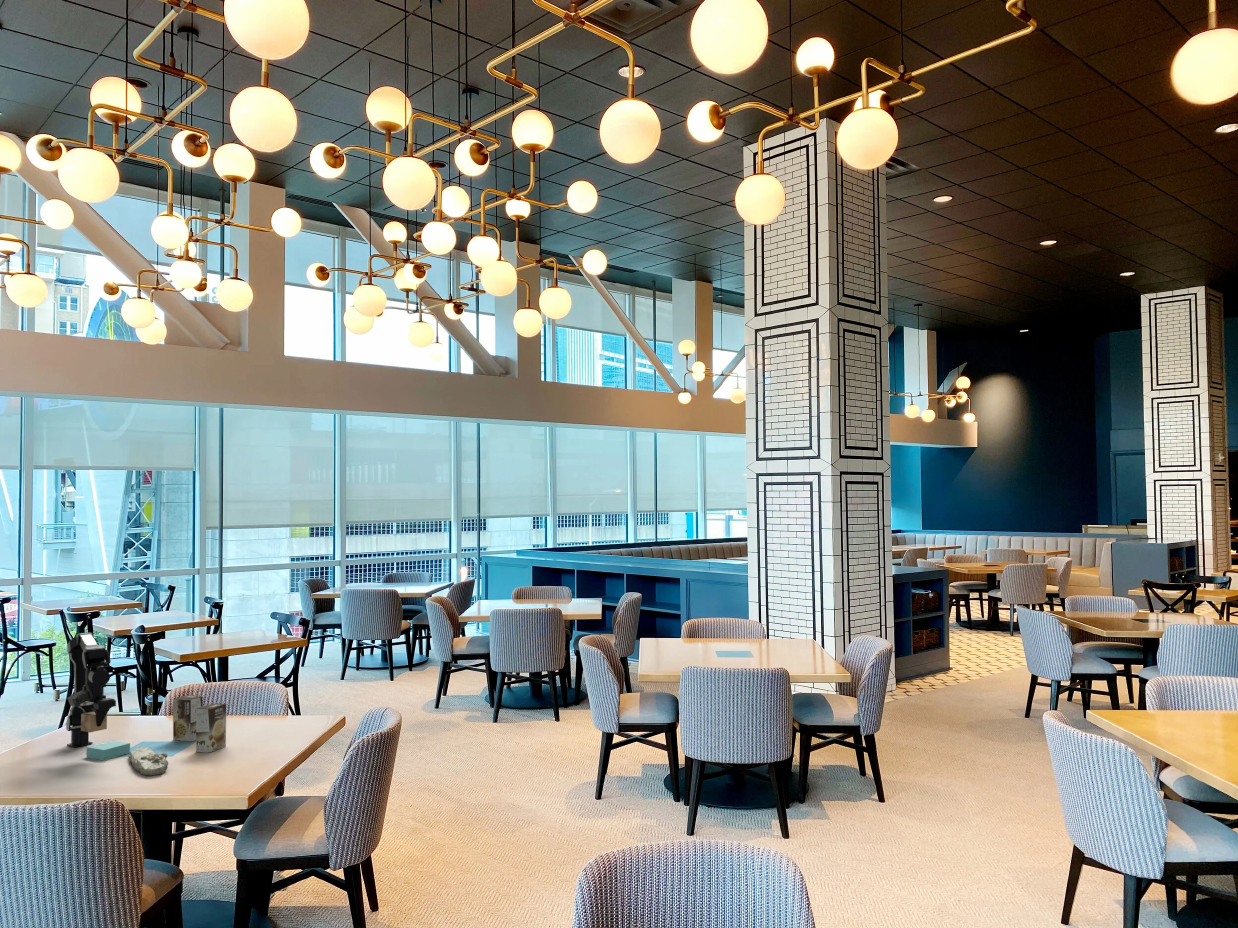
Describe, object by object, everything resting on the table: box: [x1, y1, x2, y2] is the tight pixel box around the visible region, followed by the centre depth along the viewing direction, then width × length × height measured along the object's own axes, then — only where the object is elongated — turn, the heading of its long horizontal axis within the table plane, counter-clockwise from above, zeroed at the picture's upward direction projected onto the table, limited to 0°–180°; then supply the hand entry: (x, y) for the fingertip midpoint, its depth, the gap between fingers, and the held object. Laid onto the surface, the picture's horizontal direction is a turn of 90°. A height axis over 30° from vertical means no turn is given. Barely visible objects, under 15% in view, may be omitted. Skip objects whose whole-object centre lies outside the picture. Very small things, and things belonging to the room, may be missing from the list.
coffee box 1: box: [172, 695, 204, 742], centre depth 348 cm, size 9×6×16 cm
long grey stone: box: [128, 746, 169, 776], centre depth 312 cm, size 35×5×10 cm
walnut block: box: [81, 711, 108, 734], centre depth 324 cm, size 6×6×6 cm
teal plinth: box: [85, 740, 131, 761], centre depth 326 cm, size 10×10×4 cm
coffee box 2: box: [195, 702, 227, 753], centre depth 332 cm, size 9×6×16 cm
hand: (94, 725), depth 324 cm, fingers closed on walnut block, 6 cm apart
